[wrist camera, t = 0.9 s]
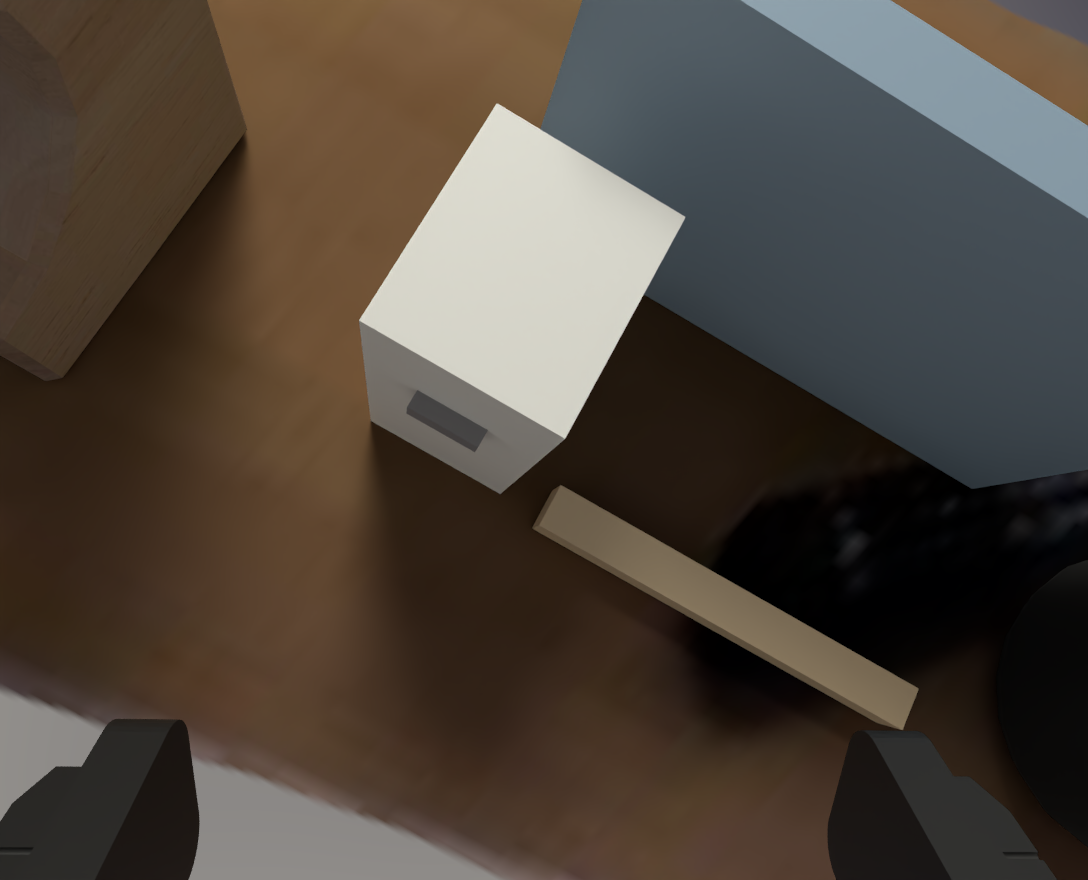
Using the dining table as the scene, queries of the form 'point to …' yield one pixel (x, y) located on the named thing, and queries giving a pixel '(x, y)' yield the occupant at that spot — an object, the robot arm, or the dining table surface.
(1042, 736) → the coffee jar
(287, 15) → the dining table surface
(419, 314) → the cabinet
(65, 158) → the decorative block
